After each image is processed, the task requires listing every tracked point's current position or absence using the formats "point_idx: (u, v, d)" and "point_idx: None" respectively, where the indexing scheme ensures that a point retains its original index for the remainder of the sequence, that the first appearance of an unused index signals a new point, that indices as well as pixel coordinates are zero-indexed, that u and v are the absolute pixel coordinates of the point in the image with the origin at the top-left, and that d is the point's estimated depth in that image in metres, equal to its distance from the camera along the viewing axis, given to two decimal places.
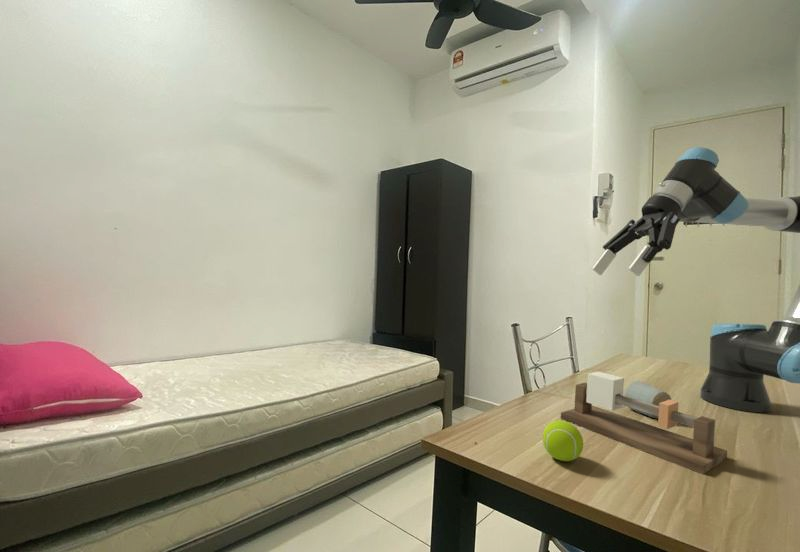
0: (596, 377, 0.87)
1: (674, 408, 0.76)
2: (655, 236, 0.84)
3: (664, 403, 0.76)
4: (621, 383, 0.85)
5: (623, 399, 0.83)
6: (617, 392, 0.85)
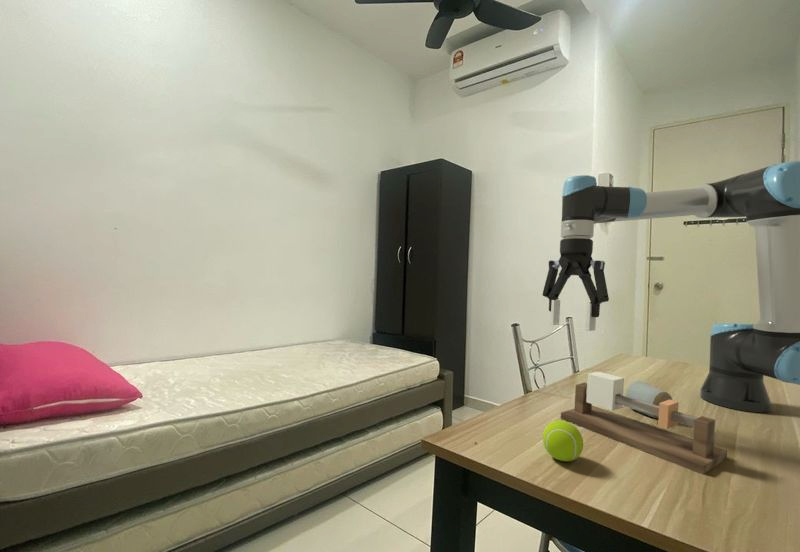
0: (596, 377, 0.87)
1: (674, 408, 0.76)
2: (591, 288, 0.90)
3: (664, 403, 0.76)
4: (621, 383, 0.85)
5: (623, 399, 0.83)
6: (617, 392, 0.85)
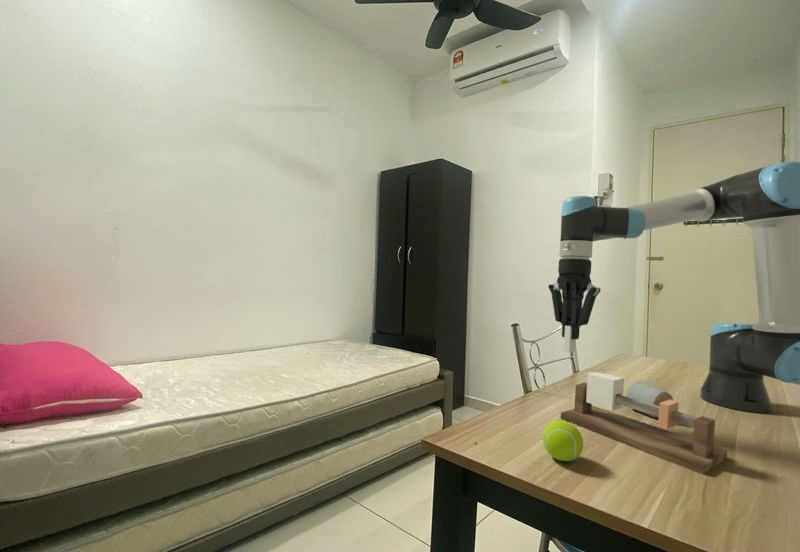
0: (596, 377, 0.87)
1: (674, 408, 0.76)
2: (577, 312, 0.93)
3: (664, 403, 0.76)
4: (621, 383, 0.85)
5: (623, 399, 0.83)
6: (617, 392, 0.85)
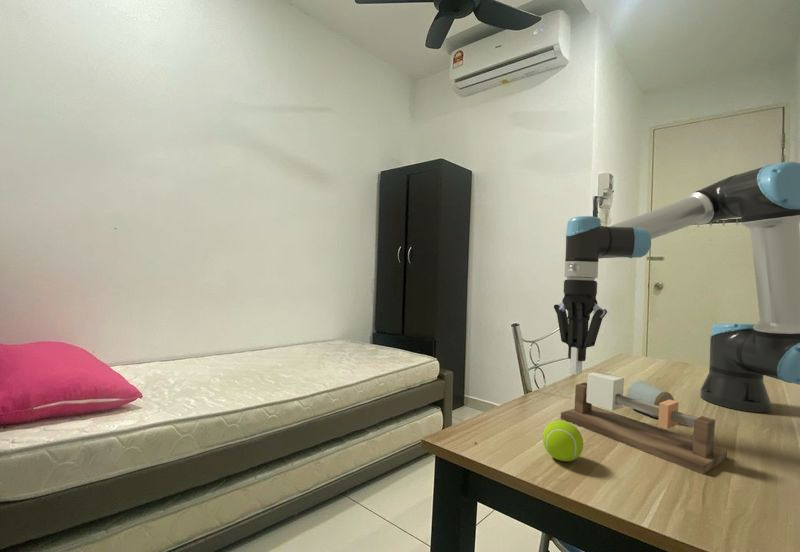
0: (596, 377, 0.87)
1: (674, 408, 0.76)
2: (583, 333, 0.91)
3: (664, 403, 0.76)
4: (621, 383, 0.85)
5: (623, 399, 0.83)
6: (617, 392, 0.85)
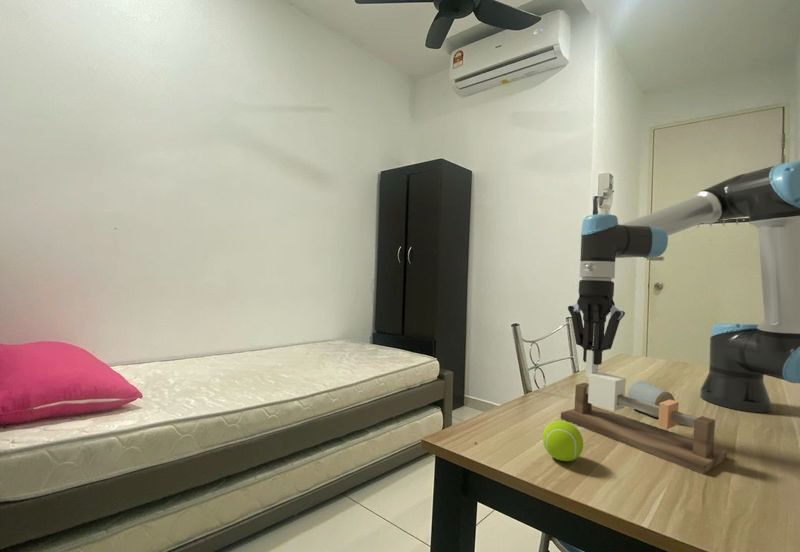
0: (598, 377, 0.86)
1: (674, 408, 0.76)
2: (599, 336, 0.88)
3: (664, 403, 0.76)
4: (623, 384, 0.85)
5: (623, 399, 0.83)
6: (619, 393, 0.84)
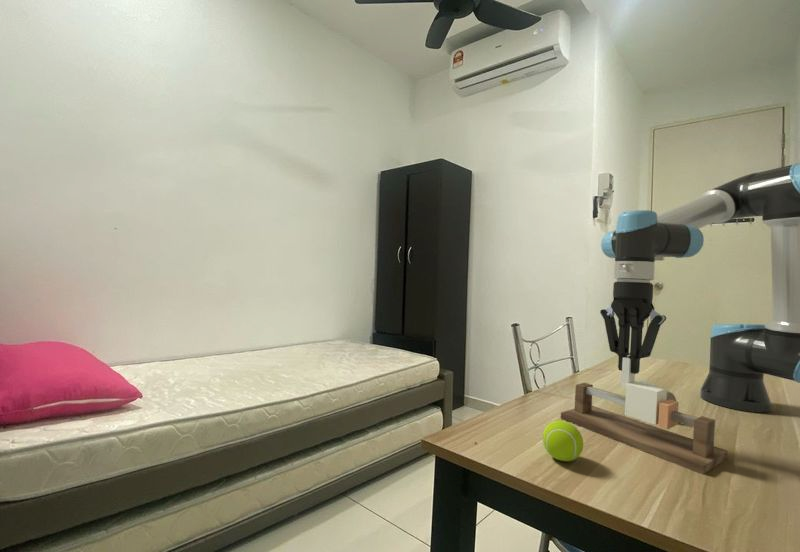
0: (636, 388, 0.79)
1: (674, 408, 0.76)
2: (637, 342, 0.81)
3: (664, 403, 0.76)
4: (664, 395, 0.78)
5: (623, 399, 0.83)
6: None
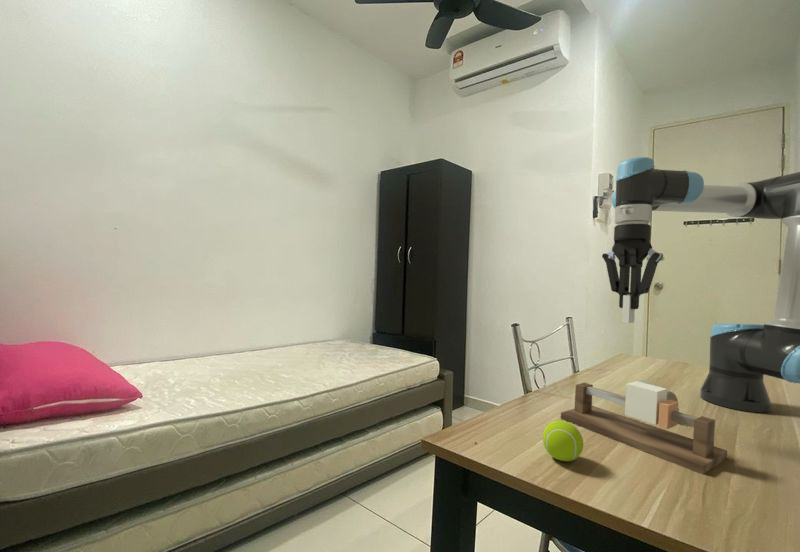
0: (636, 388, 0.79)
1: (674, 408, 0.76)
2: (637, 280, 0.88)
3: (664, 403, 0.76)
4: (664, 395, 0.78)
5: (623, 399, 0.83)
6: None
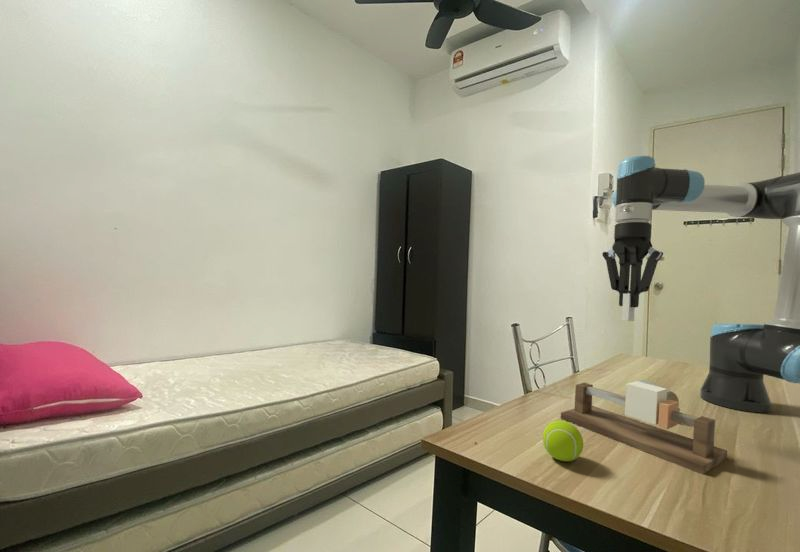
0: (636, 388, 0.79)
1: (674, 408, 0.76)
2: (637, 278, 0.88)
3: (664, 403, 0.76)
4: (664, 395, 0.78)
5: (623, 399, 0.83)
6: None
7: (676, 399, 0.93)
